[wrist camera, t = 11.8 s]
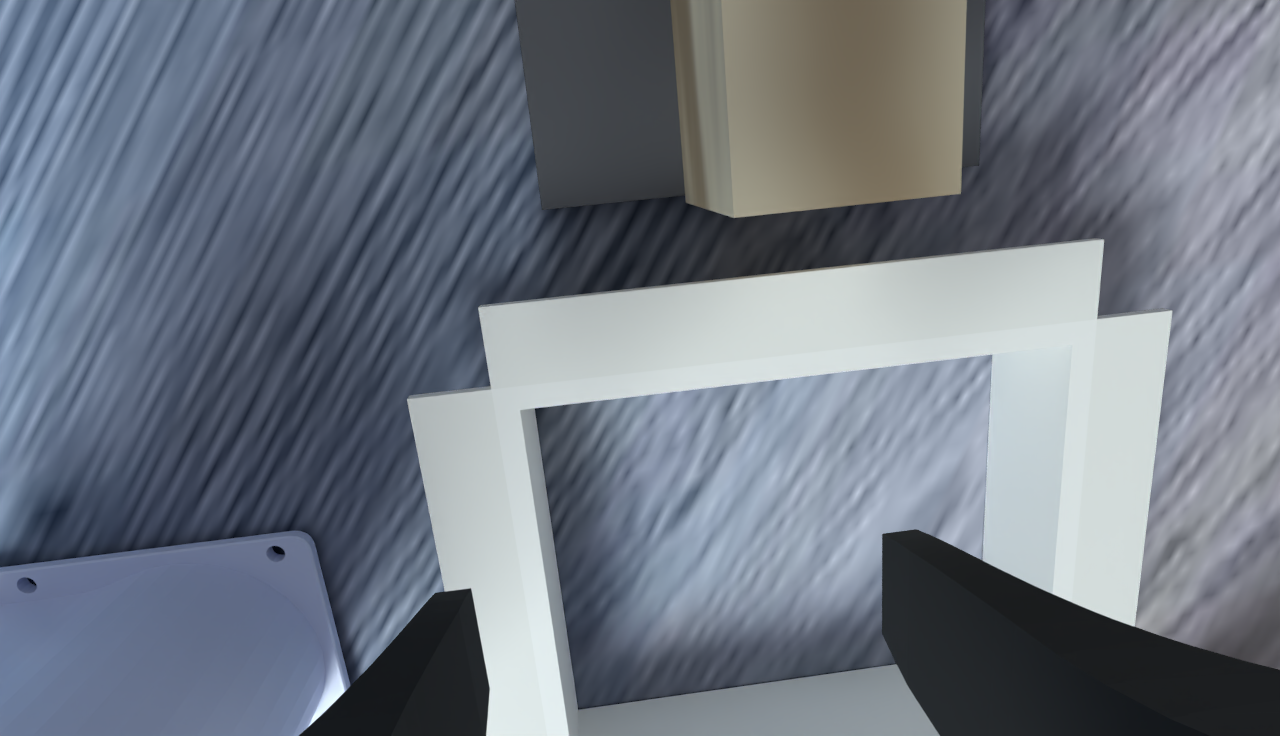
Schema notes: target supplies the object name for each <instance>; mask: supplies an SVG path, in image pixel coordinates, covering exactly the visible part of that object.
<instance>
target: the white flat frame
mask: <svg viewBox="0 0 1280 736" xmlns="http://www.w3.org/2000/svg"><path fill="white" fill-rule="evenodd" d="M1103 248H1104V239H1098V238H1093V239H1084V240H1074V241H1065V242H1056V243H1047V244H1038V245H1028V246H1019V247H1010V248H1001V249H992V250H983V251H973V252H964V253H955V254H946V255H937V256H927V257H918V258H909V259H900V260H891V261H881V262H872V263H863V264H854V265H845V266H836V267H826V268H817V269H808V270H799V271H790V272H780V273H771V274H762V275H753V276H744V277H735V278H725V279H716V280H707V281H698V282H689V283H679V284H670V285H661V286H652V287H643V288H633V289H624V290H615V291H606V292H597V293H588V294H578V295H569V296H560V297H551V298H542V299H532V300H523V301H514V302H505V303H496V304H487V305H480V306H479V307H478V310H479V316H480V323H481V329H482V335H483V341H484V347H485V353H486V360H487V366H488V372H489V378H490V384H491V386H486V387H478V388H469V389H460V390H452V391H443V392H434V393H426V394H417V395H410V396H409V397H408V398H407V402H408V408H409V413H410V418H411V423H412V428H413V433H414V438H415V443H416V448H417V453H418V458H419V463H420V468H421V473H422V478H423V483H424V488H425V493H426V499H427V504H428V509H429V514H430V519H431V524H432V529H433V534H434V539H435V544H436V549H437V554H438V559H439V564H440V569H441V574H442V579H443V584H444V590H445V592H446V591H454V590H461V589H469V588H471V590H472V595H473V601H474V606H475V612H476V617H477V622H478V628H479V633H480V638H481V644H482V649H483V655H484V660H485V665H486V671H487V676H488V682H489V687H490V692H489V706H488V719H487V731H486V736H940V735H939V734H938V732H937V731H936V729H935V728H934V726H933V724H932V723H931V721H930V720H929V718H928V717H927V715H926V714H925V712H924V711H923V709H922V707H921V706H920V704H919V703H918V701H917V700H916V698H915V697H914V695H913V693H912V692H911V690H910V689H909V687H908V686H907V684H906V682H905V680H904V678H903V676H902V674H901V672H900V670H899V668H898V666H897V664H894V665H887V666H880V667H873V668H866V669H859V670H852V671H845V672H838V673H831V674H824V675H817V676H810V677H803V678H796V679H790V680H783V681H776V682H769V683H762V684H755V685H748V686H741V687H734V688H727V689H720V690H713V691H706V692H699V693H692V694H685V695H678V696H671V697H664V698H657V699H650V700H643V701H636V702H629V703H622V704H615V705H608V706H601V707H594V708H587V709H580V710H578V705H577V698H576V691H575V684H574V677H573V670H572V663H571V657H570V650H569V643H568V636H567V629H566V622H565V615H564V608H563V601H562V594H561V587H560V580H559V574H558V567H557V560H556V553H555V546H554V539H553V532H552V525H551V518H550V511H549V504H548V497H547V491H546V484H545V477H544V470H543V463H542V456H541V449H540V442H539V435H538V428H537V421H536V415H535V408H542V407H550V406H559V405H567V404H576V403H584V402H592V401H601V400H609V399H618V398H626V397H635V396H643V395H652V394H660V393H669V392H677V391H686V390H694V389H703V388H711V387H720V386H728V385H737V384H745V383H754V382H762V381H771V380H779V379H788V378H796V377H805V376H813V375H822V374H830V373H839V372H847V371H856V370H864V369H873V368H881V367H890V366H898V365H906V364H915V363H923V362H932V361H940V360H949V359H957V358H966V357H974V356H983V355H991V354H992V371H991V392H990V413H989V434H988V455H987V476H986V497H985V518H984V539H983V560H982V561H984V562H986V563H988V564H990V565H992V566H994V567H996V568H998V569H1000V570H1002V571H1004V572H1006V573H1009V574H1011V575H1013V576H1015V577H1017V578H1019V579H1021V580H1023V581H1025V582H1027V583H1029V584H1032V585H1034V586H1036V587H1038V588H1040V589H1043V590H1045V591H1047V592H1049V593H1051V594H1054V595H1056V596H1058V597H1061V598H1063V599H1065V600H1068V601H1070V602H1072V603H1075V604H1077V605H1079V606H1082V607H1084V608H1086V609H1089V610H1091V611H1094V612H1096V613H1099V614H1101V615H1104V616H1106V617H1109V618H1111V619H1114V620H1117V621H1120V622H1122V623H1125V624H1128V625H1131V626H1134V627H1135V618H1136V610H1137V602H1138V593H1139V585H1140V577H1141V568H1142V560H1143V552H1144V543H1145V535H1146V527H1147V518H1148V510H1149V502H1150V493H1151V485H1152V477H1153V468H1154V460H1155V452H1156V443H1157V435H1158V427H1159V418H1160V410H1161V401H1162V393H1163V385H1164V376H1165V368H1166V360H1167V351H1168V343H1169V335H1170V326H1171V318H1172V310H1168V309H1164V308H1161V309H1153V310H1144V311H1135V312H1127V313H1118V314H1109V315H1101V316H1097V315H1098V304H1099V293H1100V282H1101V270H1102V259H1103Z"/></svg>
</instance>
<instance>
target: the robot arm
mask: <svg viewBox="0 0 1280 736" xmlns="http://www.w3.org/2000/svg"><path fill="white" fill-rule="evenodd" d="M272 546H279V547H281V548H282V549H283V550H284V552H285V554H284V555H280V554H277V553H275V552H274V551H273V549H272ZM27 578H30V579H32V580H34V582H35V583H36V585H33V584H31V583H30V582H29V581H28V579H27ZM882 634H883V636H884V638H885V640H886V642H887V645H888V647H889V649H890V651H891V653H892V655H893V657H894V660H895V662H896V664H897V666H898V668H899V670H900V672H901V674H902V676H903V678H904V680H905V682H906V684H907V686H908V687H909V689H910V690H911V692H912V693H913V695H914V697H915V698H916V700H917V701H918V703H919V704H920V706H921V707H922V709H923V711H924V712H925V714H926V715H927V717H928V718H929V720H930V721H931V723H932V724H933V726H934V728H935V729H936V731H937V732H938V734H939V735H940V736H1280V670H1278V669H1274V668H1270V667H1266V666H1262V665H1258V664H1254V663H1250V662H1246V661H1242V660H1239V659H1235V658H1232V657H1228V656H1225V655H1221V654H1218V653H1214V652H1211V651H1207V650H1204V649H1200V648H1197V647H1193V646H1190V645H1187V644H1184V643H1181V642H1177V641H1174V640H1171V639H1168V638H1165V637H1162V636H1159V635H1156V634H1153V633H1151V632H1148V631H1145V630H1142V629H1139V628H1137V627H1134V626H1131V625H1128V624H1125V623H1122V622H1120V621H1117V620H1114V619H1111V618H1109V617H1106V616H1104V615H1101V614H1099V613H1096V612H1094V611H1091V610H1089V609H1086V608H1084V607H1082V606H1079V605H1077V604H1075V603H1072V602H1070V601H1068V600H1065V599H1063V598H1061V597H1058V596H1056V595H1054V594H1051V593H1049V592H1047V591H1045V590H1043V589H1040V588H1038V587H1036V586H1034V585H1032V584H1029V583H1027V582H1025V581H1023V580H1021V579H1019V578H1017V577H1015V576H1013V575H1011V574H1009V573H1006V572H1004V571H1002V570H1000V569H998V568H996V567H994V566H992V565H990V564H988V563H986V562H984V561H982V560H980V559H978V558H976V557H974V556H972V555H970V554H968V553H966V552H964V551H962V550H960V549H958V548H956V547H954V546H952V545H950V544H948V543H946V542H944V541H942V540H940V539H937V538H935V537H933V536H931V535H929V534H926V533H924V532H921V531H919V530H909V531H901V532H893V533H886V534H882ZM489 692H490V687H489V682H488V676H487V671H486V665H485V660H484V655H483V649H482V644H481V638H480V633H479V628H478V622H477V617H476V612H475V606H474V601H473V595H472V590H471V588H469V589H461V590H454V591H446V592H439V593H435V594H434V595H433V596H432V597H431V598H430V599H429V600H428V601H427V602H426V604H425V605H424V606H423V607H422V608H421V609H420V610H419V612H418V613H417V614H416V615H415V616H414V617H413V619H412V620H411V621H410V622H409V623H408V624H407V625H406V627H405V628H404V629H403V630H402V631H401V632H400V633H399V635H398V636H397V637H396V638H395V639H394V640H393V641H392V643H391V644H390V645H389V646H388V647H387V648H386V649H385V650H384V651H383V652H382V654H381V655H380V656H379V657H378V658H377V659H376V660H375V661H374V662H373V664H372V665H371V666H370V667H369V668H368V669H367V670H366V671H365V672H364V673H363V674H362V675H361V676H360V677H359V678H358V679H357V680H356V681H355V682H354V683H353V684H352V685H351V686H350V682H349V678H348V674H347V670H346V666H345V662H344V658H343V654H342V650H341V646H340V642H339V638H338V634H337V630H336V626H335V622H334V618H333V614H332V610H331V606H330V602H329V598H328V594H327V590H326V586H325V582H324V578H323V574H322V570H321V566H320V562H319V558H318V554H317V551H316V547H315V543H314V541H313V539H312V537H310V536H309V535H308V534H307V533H305V532H302V531H287V532H279V533H271V534H263V535H255V536H247V537H239V538H231V539H223V540H215V541H207V542H199V543H191V544H183V545H175V546H167V547H159V548H151V549H143V550H135V551H127V552H119V553H111V554H103V555H95V556H87V557H79V558H71V559H63V560H55V561H47V562H39V563H31V564H24V565H16V566H8V567H0V736H486V731H487V719H488V706H489Z"/></svg>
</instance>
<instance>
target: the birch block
mask: <svg viewBox="0 0 1280 736" xmlns="http://www.w3.org/2000/svg"><path fill="white" fill-rule="evenodd" d="M670 3H671V16H672V29H673V42H674V55H675V68H676V81H677V94H678V107H679V120H680V133H681V146H682V159H683V172H684V186H685V199H686V203H688V204H691V205H694V206H698V207H701V208H704V209H707V210H710V211H713V212H717V213H720V214H723V215H726V216H729V217H732V218H738V217H748V216H757V215H767V214H776V213H785V212H795V211H804V210H813V209H823V208H832V207H842V206H851V205H860V204H870V203H879V202H889V201H898V200H907V199H917V198H926V197H936V196H945V195H954V194H961V176H962V142H963V109H964V76H965V43H966V10H967V0H670Z"/></svg>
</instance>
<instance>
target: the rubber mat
mask: <svg viewBox="0 0 1280 736" xmlns="http://www.w3.org/2000/svg"><path fill="white" fill-rule="evenodd" d="M985 1H986V0H967V10H966V43H965V76H964V109H963V142H962V167H969V166H979V154H980V129H981V103H982V78H983V52H984V26H985ZM515 7H516V14H517V22H518V30H519V37H520V45H521V53H522V60H523V68H524V76H525V83H526V91H527V99H528V106H529V114H530V122H531V129H532V137H533V145H534V152H535V160H536V168H537V175H538V183H539V191H540V198H541V206H542V210H546V209H556V208H566V207H575V206H585V205H595V204H605V203H615V202H625V201H634V200H644V199H654V198H664V197H674V196H684V195H685V186H684V172H683V159H682V146H681V133H680V120H679V107H678V94H677V81H676V68H675V55H674V42H673V29H672V16H671V3H670V0H515Z"/></svg>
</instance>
